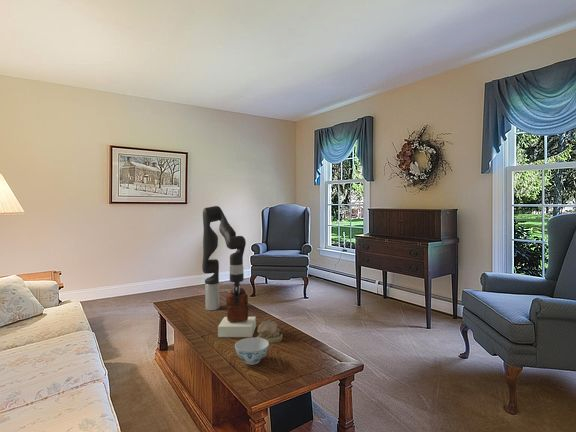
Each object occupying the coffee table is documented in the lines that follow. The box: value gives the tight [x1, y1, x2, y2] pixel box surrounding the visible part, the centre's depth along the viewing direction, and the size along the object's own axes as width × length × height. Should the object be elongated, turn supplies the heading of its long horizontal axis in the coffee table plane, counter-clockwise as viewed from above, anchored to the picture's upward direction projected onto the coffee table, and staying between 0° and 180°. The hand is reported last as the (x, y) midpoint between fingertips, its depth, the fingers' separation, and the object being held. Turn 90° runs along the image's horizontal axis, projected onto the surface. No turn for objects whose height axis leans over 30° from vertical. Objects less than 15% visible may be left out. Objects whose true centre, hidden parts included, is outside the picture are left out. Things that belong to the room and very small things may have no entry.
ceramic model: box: [256, 319, 284, 344], centre depth 175 cm, size 14×11×10 cm
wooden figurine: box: [225, 287, 249, 322], centre depth 185 cm, size 12×6×18 cm, turn 99°
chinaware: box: [234, 337, 270, 366], centre depth 149 cm, size 15×15×8 cm
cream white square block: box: [217, 316, 257, 338], centre depth 185 cm, size 16×18×6 cm
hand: (237, 302), depth 185 cm, fingers closed on wooden figurine, 6 cm apart
